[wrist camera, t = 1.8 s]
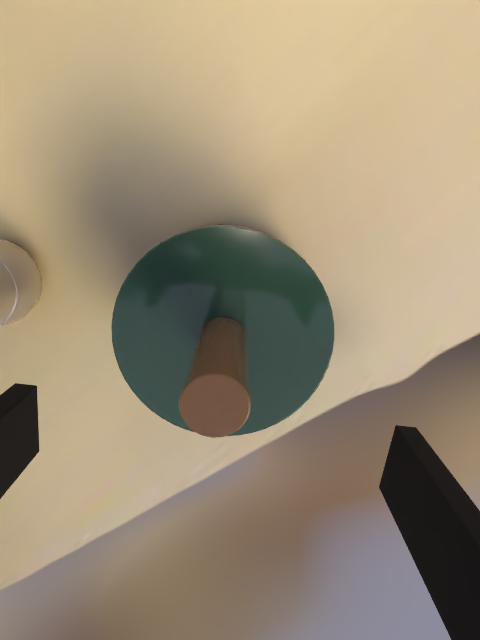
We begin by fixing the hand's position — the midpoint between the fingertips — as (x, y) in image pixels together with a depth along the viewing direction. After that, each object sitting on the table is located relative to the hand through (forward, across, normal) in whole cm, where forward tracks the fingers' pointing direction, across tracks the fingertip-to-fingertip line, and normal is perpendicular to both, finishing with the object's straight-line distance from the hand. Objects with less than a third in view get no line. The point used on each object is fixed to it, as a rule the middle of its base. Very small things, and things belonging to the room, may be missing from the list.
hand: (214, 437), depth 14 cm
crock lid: (+11, 0, 0) cm, 11 cm away
